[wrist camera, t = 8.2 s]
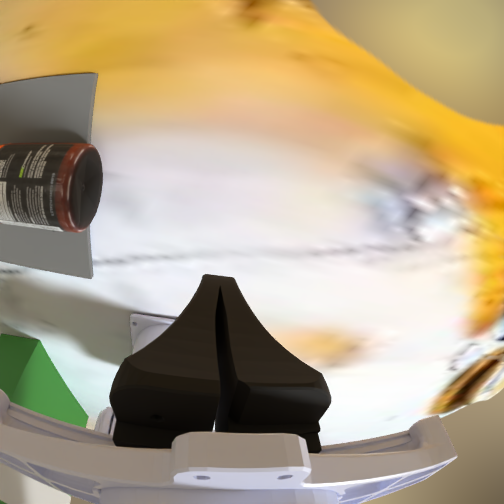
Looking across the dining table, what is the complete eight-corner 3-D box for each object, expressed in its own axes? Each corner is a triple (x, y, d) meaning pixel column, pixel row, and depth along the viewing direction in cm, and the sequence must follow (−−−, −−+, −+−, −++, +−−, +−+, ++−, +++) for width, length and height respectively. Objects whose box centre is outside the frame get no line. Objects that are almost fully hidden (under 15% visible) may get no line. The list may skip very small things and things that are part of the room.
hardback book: (88, 416, 36) (64, 546, 15) (52, 408, 35) (23, 528, 14) (39, 339, 27) (-24, 512, 6) (1, 333, 27) (-64, 480, 6)
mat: (93, 275, 24) (91, 278, 23) (-18, 253, 21) (-21, 256, 21) (98, 73, 16) (94, 73, 15) (-29, 91, 13) (-33, 92, 13)
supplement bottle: (109, 194, 21) (6, 185, 19) (102, 126, 16) (-10, 129, 14) (81, 254, 17) (-27, 234, 15) (60, 182, 13) (-54, 176, 11)
